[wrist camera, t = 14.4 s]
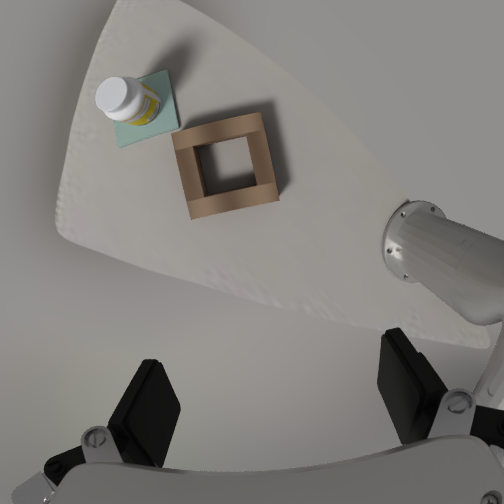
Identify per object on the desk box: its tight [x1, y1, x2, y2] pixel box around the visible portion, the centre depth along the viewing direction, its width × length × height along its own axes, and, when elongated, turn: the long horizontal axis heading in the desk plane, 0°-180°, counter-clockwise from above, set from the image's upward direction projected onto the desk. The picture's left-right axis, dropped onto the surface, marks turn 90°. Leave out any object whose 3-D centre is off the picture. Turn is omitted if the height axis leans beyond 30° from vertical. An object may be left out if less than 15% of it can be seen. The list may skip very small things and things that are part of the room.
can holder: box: [171, 112, 279, 220], centre depth 34 cm, size 11×11×3 cm
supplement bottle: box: [95, 76, 161, 126], centre depth 28 cm, size 5×5×10 cm
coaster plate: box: [113, 69, 179, 148], centre depth 33 cm, size 9×9×1 cm
